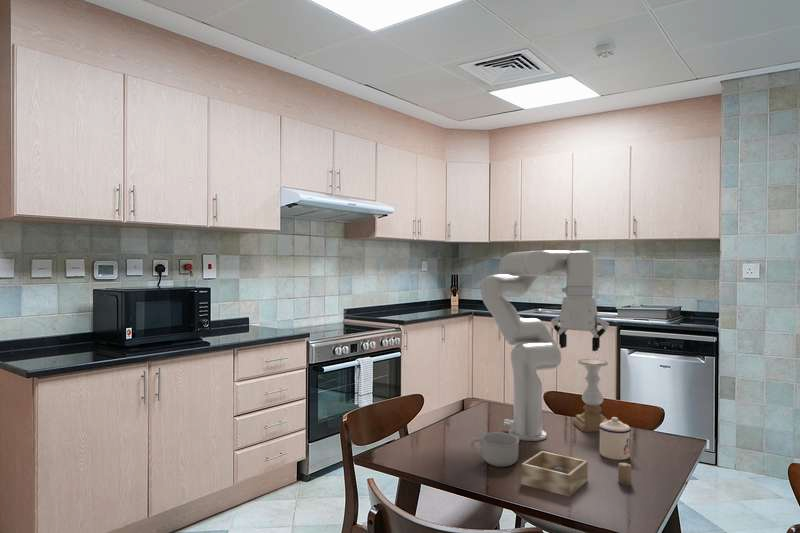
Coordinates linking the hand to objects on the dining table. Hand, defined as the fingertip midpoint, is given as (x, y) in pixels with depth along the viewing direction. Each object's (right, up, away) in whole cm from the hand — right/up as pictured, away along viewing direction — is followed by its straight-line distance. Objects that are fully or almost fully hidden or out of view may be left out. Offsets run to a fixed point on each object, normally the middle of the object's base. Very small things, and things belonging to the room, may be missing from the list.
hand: (579, 349), depth 168 cm
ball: (-11, -33, -17) cm, 38 cm away
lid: (+6, -34, -20) cm, 40 cm away
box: (-13, -33, -19) cm, 41 cm away
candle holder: (+16, -33, +34) cm, 50 cm away
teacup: (-26, -34, -4) cm, 43 cm away
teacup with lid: (+13, -34, +5) cm, 36 cm away
